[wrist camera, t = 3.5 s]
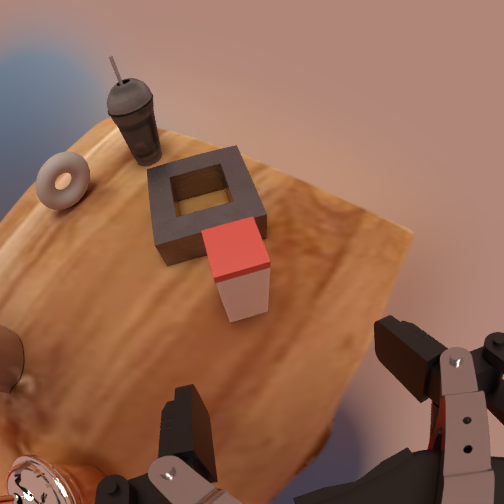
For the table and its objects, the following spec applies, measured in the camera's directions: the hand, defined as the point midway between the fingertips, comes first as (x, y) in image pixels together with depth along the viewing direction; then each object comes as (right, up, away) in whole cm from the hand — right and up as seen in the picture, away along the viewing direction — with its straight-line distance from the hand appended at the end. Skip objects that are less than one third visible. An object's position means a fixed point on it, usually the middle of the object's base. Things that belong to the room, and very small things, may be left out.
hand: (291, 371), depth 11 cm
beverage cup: (-19, +21, +35) cm, 45 cm away
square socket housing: (-8, +10, +28) cm, 31 cm away
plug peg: (-3, -1, +22) cm, 22 cm away
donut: (-31, +14, +31) cm, 46 cm away
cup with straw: (-21, -22, +10) cm, 32 cm away
